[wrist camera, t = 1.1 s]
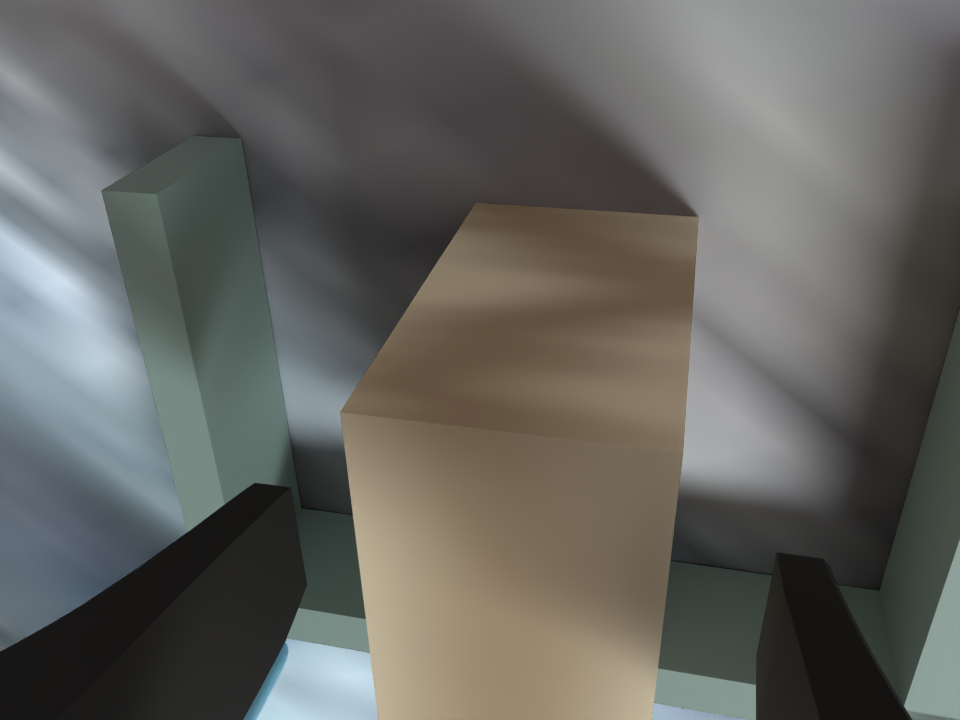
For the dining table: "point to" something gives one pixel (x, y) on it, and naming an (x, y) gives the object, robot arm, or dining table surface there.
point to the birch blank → (526, 468)
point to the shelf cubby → (331, 536)
